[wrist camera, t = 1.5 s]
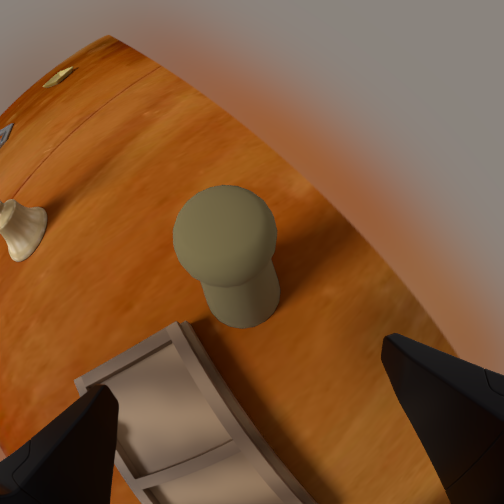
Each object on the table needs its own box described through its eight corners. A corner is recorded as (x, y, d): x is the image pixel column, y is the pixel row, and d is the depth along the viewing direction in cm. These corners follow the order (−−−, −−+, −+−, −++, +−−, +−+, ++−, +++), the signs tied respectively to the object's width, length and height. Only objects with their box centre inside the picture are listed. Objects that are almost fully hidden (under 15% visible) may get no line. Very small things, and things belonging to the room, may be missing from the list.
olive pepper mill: (266, 248, 23) (261, 154, 14) (291, 314, 21) (308, 252, 11) (198, 270, 23) (149, 189, 13) (217, 338, 20) (166, 298, 10)
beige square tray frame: (60, 76, 57) (58, 71, 55) (76, 70, 56) (73, 65, 54) (44, 91, 53) (42, 86, 52) (58, 85, 52) (56, 81, 50)
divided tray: (325, 511, 13) (330, 525, 11) (202, 556, 11) (196, 570, 8) (190, 323, 21) (180, 316, 19) (84, 383, 19) (67, 381, 16)
